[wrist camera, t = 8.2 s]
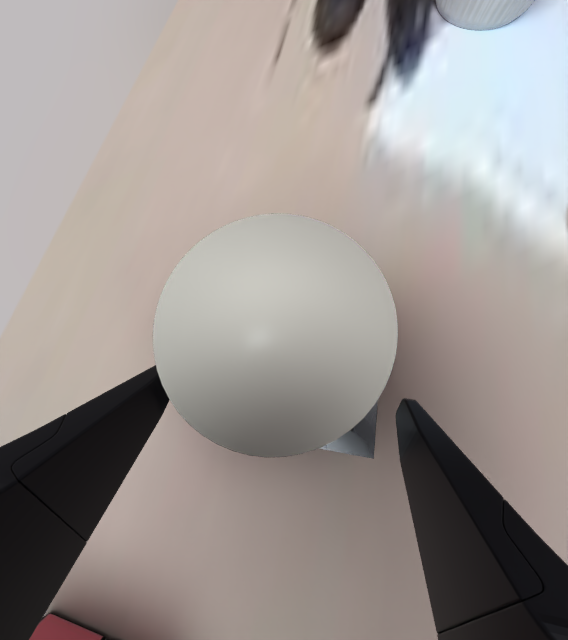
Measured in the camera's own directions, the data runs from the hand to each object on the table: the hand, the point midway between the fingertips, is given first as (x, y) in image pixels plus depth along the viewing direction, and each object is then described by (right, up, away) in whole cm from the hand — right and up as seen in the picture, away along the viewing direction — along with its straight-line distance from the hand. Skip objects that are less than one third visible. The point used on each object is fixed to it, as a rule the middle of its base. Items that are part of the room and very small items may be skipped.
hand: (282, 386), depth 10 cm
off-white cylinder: (+1, 0, +8) cm, 8 cm away
